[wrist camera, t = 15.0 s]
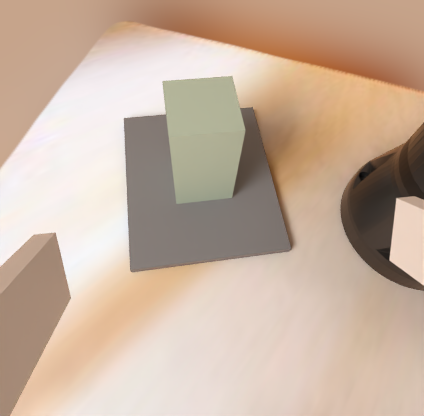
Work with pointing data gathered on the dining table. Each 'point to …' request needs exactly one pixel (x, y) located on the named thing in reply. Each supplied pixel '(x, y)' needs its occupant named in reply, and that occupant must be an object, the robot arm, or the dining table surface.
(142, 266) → the mat
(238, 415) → the dining table surface
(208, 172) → the sage block
